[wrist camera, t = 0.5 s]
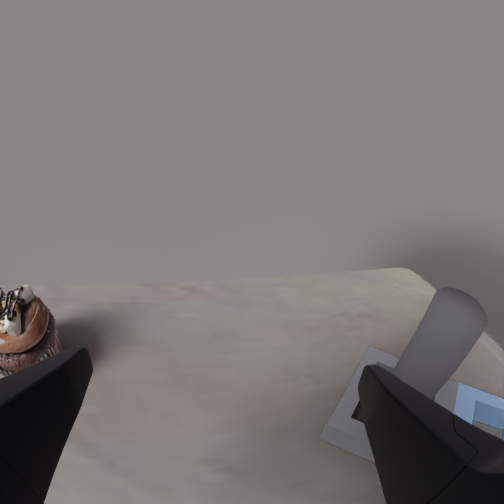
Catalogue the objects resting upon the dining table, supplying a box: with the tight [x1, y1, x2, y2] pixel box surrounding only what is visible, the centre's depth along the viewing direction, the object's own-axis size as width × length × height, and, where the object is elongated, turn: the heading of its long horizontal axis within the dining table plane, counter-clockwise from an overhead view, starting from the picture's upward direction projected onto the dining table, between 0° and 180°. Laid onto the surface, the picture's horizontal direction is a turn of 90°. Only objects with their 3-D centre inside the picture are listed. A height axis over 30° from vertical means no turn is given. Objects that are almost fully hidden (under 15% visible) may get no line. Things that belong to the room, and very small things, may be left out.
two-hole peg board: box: [318, 345, 504, 462], centre depth 18 cm, size 22×10×3 cm, turn 55°
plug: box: [391, 288, 487, 399], centre depth 18 cm, size 4×4×14 cm
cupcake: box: [0, 285, 64, 377], centre depth 21 cm, size 10×10×10 cm
